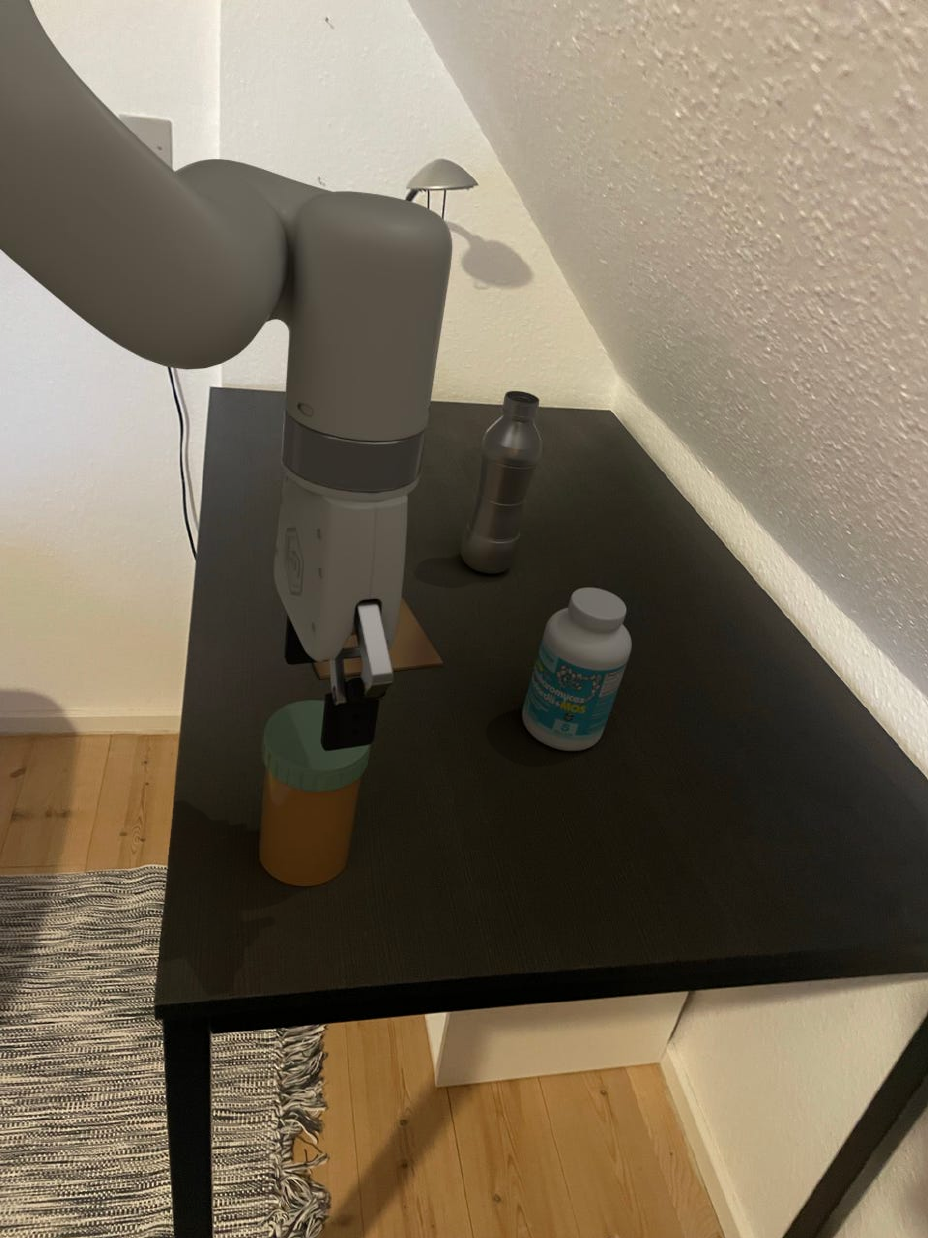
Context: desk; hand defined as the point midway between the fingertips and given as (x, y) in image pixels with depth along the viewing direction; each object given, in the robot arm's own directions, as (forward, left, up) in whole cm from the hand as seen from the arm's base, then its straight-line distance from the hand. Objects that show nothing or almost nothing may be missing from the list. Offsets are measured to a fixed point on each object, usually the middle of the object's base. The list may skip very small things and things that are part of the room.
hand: (326, 699), depth 60 cm
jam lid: (0, 0, -3) cm, 3 cm away
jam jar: (0, 0, -14) cm, 14 cm away
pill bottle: (+24, +13, -14) cm, 31 cm away
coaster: (+8, +27, -14) cm, 31 cm away
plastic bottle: (+24, +41, -14) cm, 49 cm away
